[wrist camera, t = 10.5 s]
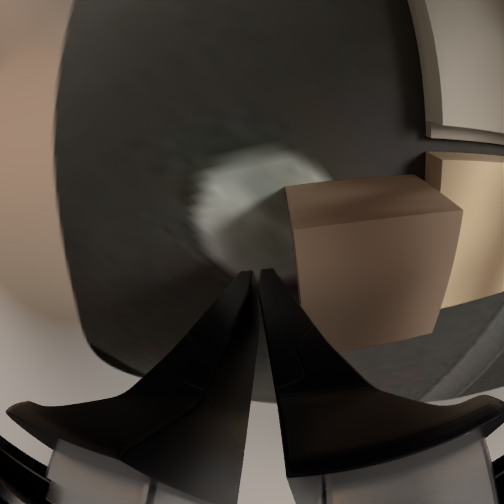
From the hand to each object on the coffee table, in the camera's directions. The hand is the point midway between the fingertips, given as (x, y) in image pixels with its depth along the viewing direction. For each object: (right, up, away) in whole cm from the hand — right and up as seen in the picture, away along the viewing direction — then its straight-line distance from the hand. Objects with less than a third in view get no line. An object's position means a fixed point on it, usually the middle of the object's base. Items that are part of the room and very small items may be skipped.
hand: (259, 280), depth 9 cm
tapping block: (+4, +2, +1) cm, 4 cm away
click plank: (+12, +2, 0) cm, 12 cm away
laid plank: (+11, +9, -4) cm, 15 cm away
